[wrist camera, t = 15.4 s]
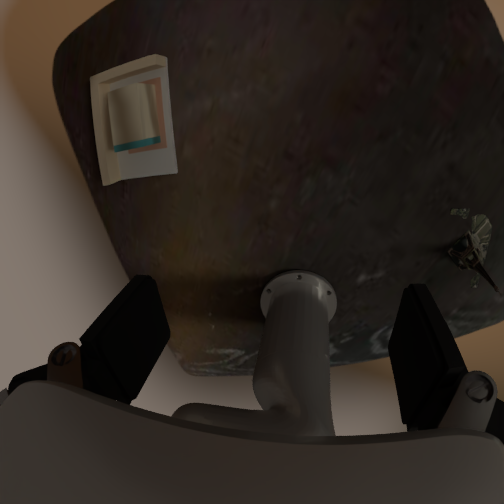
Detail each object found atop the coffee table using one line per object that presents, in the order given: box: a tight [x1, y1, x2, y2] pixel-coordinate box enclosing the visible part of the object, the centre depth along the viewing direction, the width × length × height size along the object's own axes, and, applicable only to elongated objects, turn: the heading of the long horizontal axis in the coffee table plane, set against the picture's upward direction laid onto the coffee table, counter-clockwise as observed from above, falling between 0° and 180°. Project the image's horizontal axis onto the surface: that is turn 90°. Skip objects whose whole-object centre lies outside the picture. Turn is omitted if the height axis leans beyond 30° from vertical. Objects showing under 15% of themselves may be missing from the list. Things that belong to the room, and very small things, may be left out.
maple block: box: [108, 83, 161, 152], centre depth 34 cm, size 5×9×5 cm, turn 4°
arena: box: [90, 54, 178, 186], centre depth 35 cm, size 18×12×4 cm, turn 4°
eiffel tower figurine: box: [447, 209, 501, 295], centre depth 31 cm, size 15×10×13 cm
